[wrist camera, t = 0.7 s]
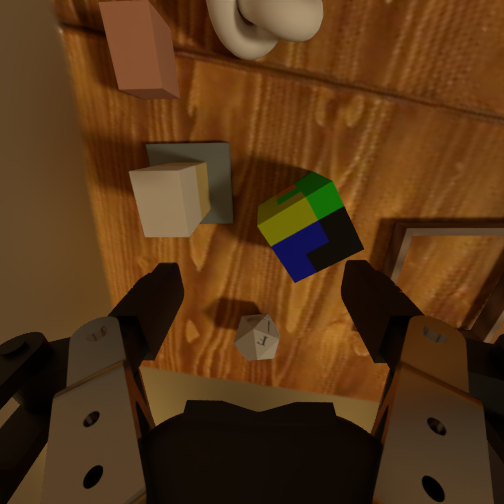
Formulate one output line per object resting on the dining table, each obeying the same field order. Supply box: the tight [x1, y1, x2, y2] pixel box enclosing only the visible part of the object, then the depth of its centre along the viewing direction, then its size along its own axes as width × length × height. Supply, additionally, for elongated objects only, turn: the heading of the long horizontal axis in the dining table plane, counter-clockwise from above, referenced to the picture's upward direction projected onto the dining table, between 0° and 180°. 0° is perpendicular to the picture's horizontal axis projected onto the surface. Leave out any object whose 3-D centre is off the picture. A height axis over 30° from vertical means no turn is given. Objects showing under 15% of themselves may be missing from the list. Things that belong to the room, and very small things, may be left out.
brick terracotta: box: [98, 0, 180, 100], centre depth 25 cm, size 7×5×6 cm
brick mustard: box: [158, 162, 211, 220], centre depth 31 cm, size 7×5×6 cm
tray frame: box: [382, 222, 504, 343], centre depth 40 cm, size 25×23×3 cm
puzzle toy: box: [257, 172, 364, 283], centre depth 32 cm, size 10×10×10 cm
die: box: [234, 313, 279, 361], centre depth 42 cm, size 8×9×10 cm
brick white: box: [129, 166, 202, 237], centre depth 25 cm, size 7×5×6 cm
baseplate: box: [146, 143, 234, 224], centre depth 34 cm, size 12×12×1 cm
